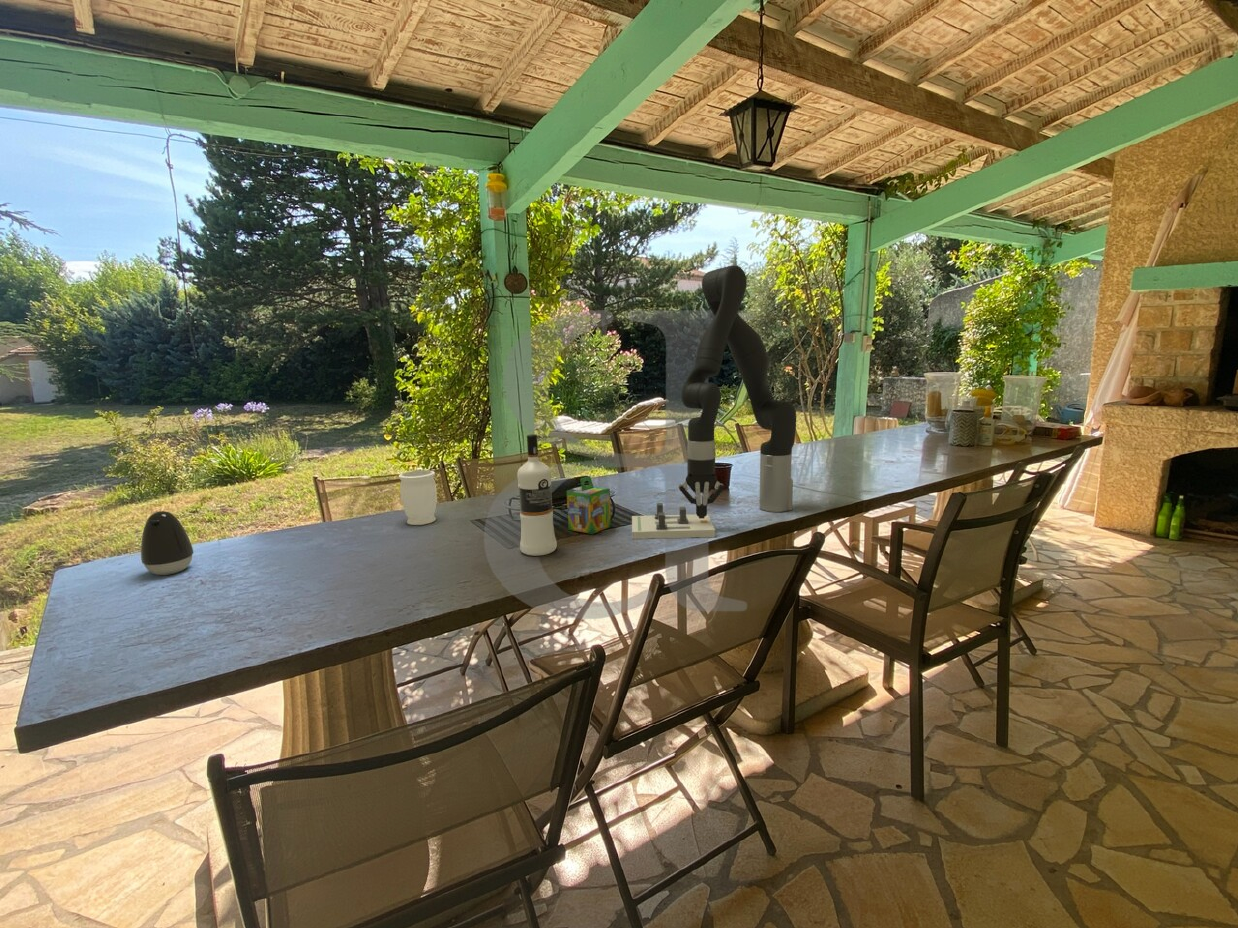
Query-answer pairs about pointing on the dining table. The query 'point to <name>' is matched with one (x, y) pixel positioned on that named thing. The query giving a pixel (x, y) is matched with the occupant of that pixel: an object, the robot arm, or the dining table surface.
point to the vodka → (535, 504)
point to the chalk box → (588, 508)
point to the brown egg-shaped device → (165, 544)
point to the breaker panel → (672, 527)
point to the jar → (418, 496)
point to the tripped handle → (682, 515)
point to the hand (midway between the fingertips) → (701, 517)
